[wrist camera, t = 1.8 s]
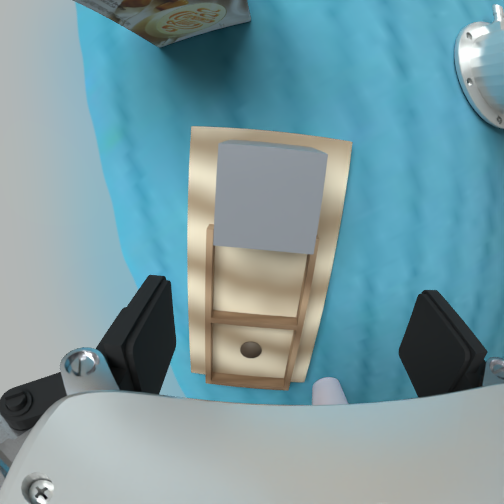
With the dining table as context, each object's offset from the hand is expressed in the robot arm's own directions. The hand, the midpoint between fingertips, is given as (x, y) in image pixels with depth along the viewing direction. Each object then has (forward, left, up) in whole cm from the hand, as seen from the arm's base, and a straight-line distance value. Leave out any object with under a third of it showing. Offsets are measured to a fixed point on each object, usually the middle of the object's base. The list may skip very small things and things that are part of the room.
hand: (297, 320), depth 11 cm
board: (+8, -1, -19) cm, 21 cm away
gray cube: (-2, -1, -18) cm, 18 cm away
